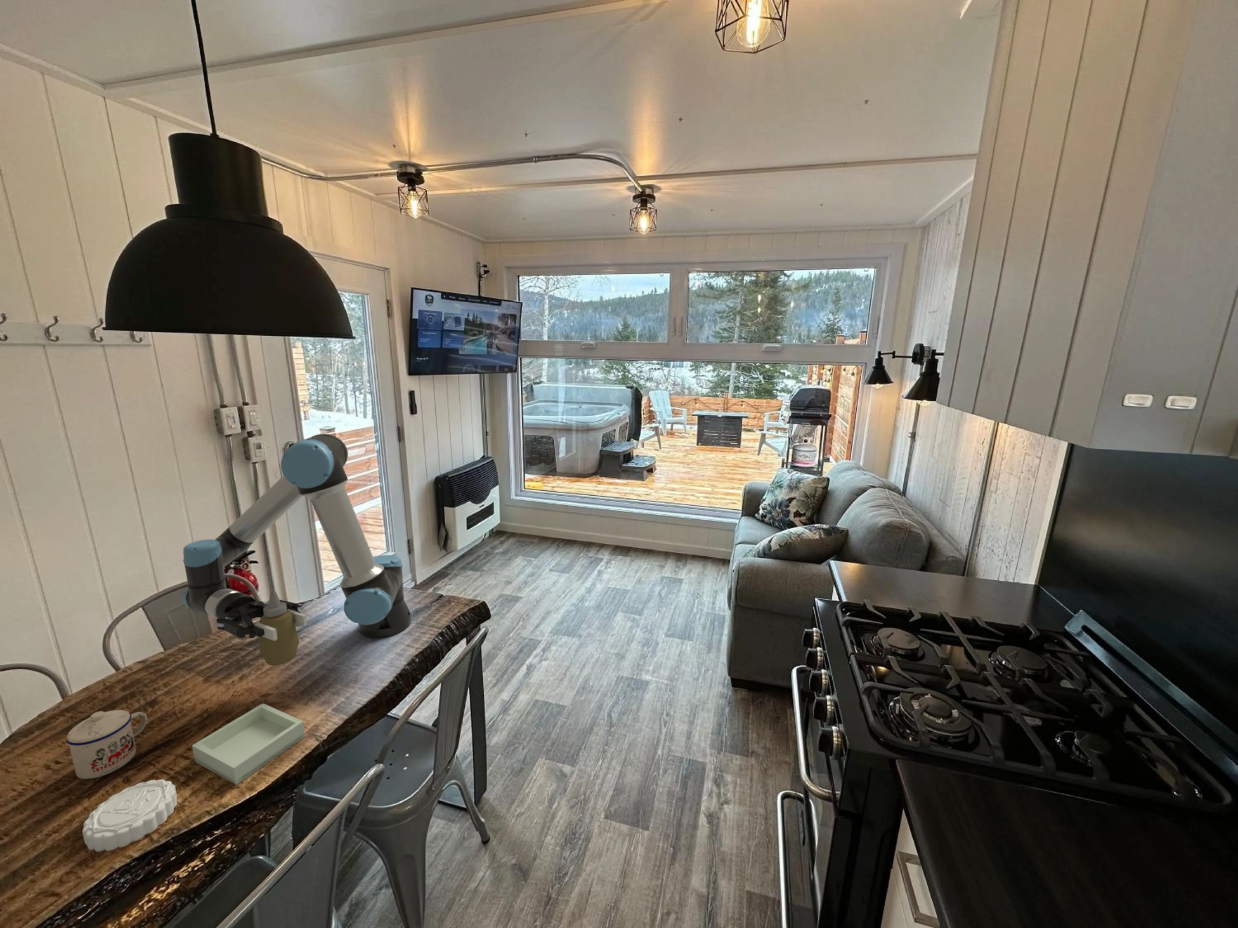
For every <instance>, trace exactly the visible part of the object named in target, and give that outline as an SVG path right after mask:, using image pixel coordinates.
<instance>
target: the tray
mask: <svg viewBox="0 0 1238 928" xmlns="http://www.w3.org/2000/svg"><path fill="white" fill-rule="evenodd" d="M305 737H306V733H305V725H304V721H303V720H301V719H299V718H296V717H294V716H293V715H291V714H288V713H286V712H283V711H281V710H280V709H279V710H278V709H277V708H274V707H272V706H270V705H268V704H265V703H261V704H259V705H257V706H256V707H254V708H251V710H249V711H248V712H246V713H244V714H242V715H241V716H239V717H237V718H236V719H234V720H232V721H231V722H229V723H227V724H225V725H223V726H222V727H221V728H219V729H218V730H217V729H216V730H215V731H214V732H212V733H210V734H209V735H207V736H205V737H204V738H201V739H200V740H198V741H196V743H193V744H192V745H191V747H192V753H193V760H194V762H195V763H197V764H198V765H199V766H201V767H203V768H205V769H207V770H209V771H211V772H212V773H214V774H215V775H218V776H219V777H222V778H223V779H224V780H226V781H228V782H230V783H232V784H234V785H236V786H237V785H239V784H240V783H242V782H244V781H245V780H247V778H249V777H250V776H252V775H253V774H254V773H256V772H257V771H259V770H260V769H262V768H263V767H264V766H266V765H268V764H269V763H271V761H273V760H274V759H276V758H277V757H278V756H280V755H282V754H283V753H284V752H286V751H287V750H289V749H290V748H291V747H293V746H295V744H296V743H298V742H300V741H301V740H303V739H304V738H305Z"/></svg>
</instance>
